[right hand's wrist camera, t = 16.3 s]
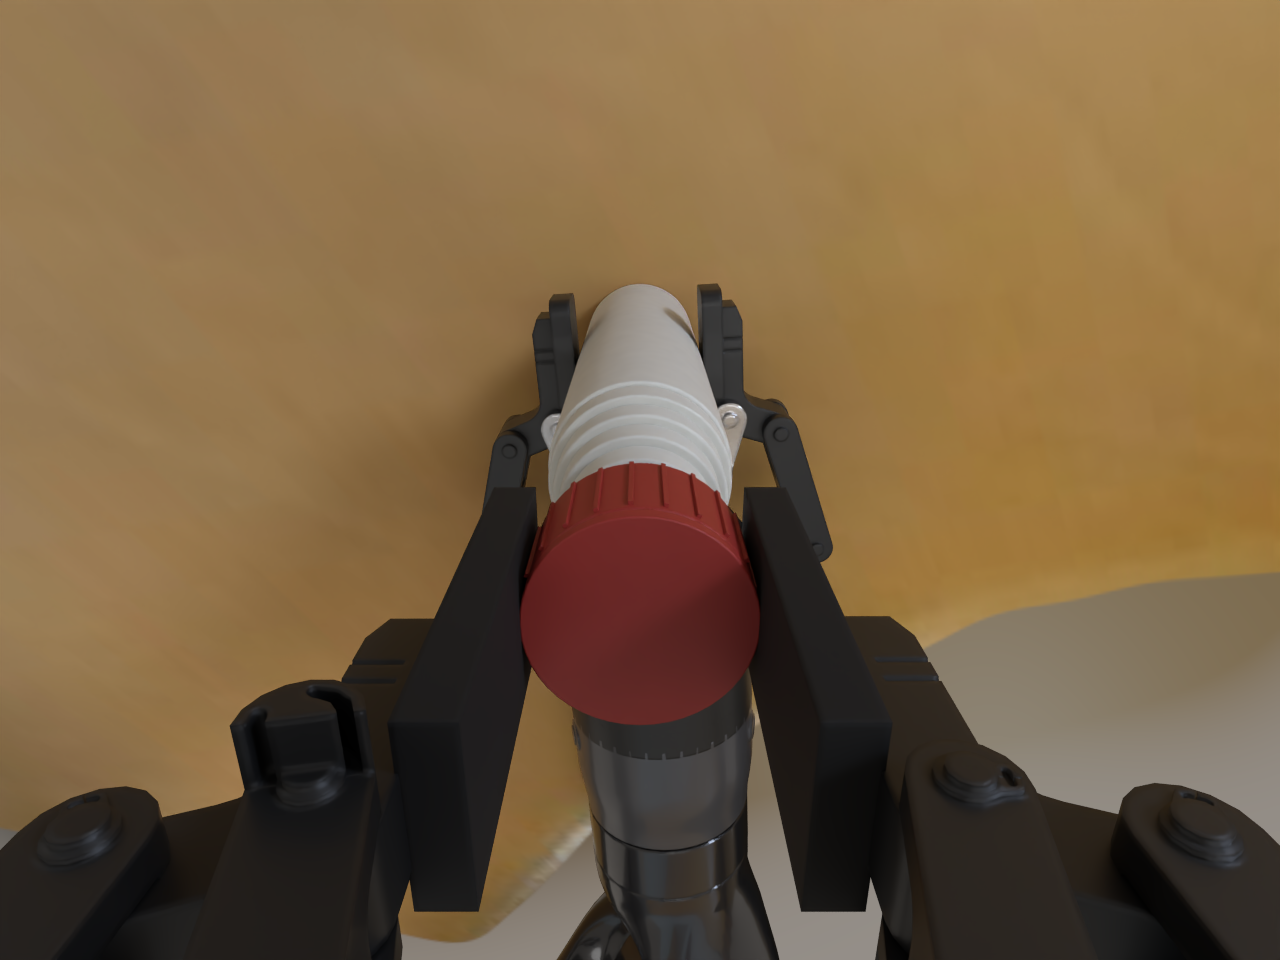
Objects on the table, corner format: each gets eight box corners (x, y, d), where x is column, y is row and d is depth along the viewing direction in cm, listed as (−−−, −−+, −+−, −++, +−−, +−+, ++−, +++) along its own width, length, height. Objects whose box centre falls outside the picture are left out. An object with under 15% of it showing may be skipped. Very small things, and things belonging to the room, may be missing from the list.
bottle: (680, 393, 35) (741, 735, 14) (581, 376, 35) (491, 698, 14) (700, 293, 33) (803, 510, 12) (597, 275, 33) (522, 463, 12)
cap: (661, 415, 14) (665, 463, 11) (787, 576, 15) (812, 648, 13) (490, 538, 15) (463, 605, 12) (621, 681, 16) (618, 766, 13)
